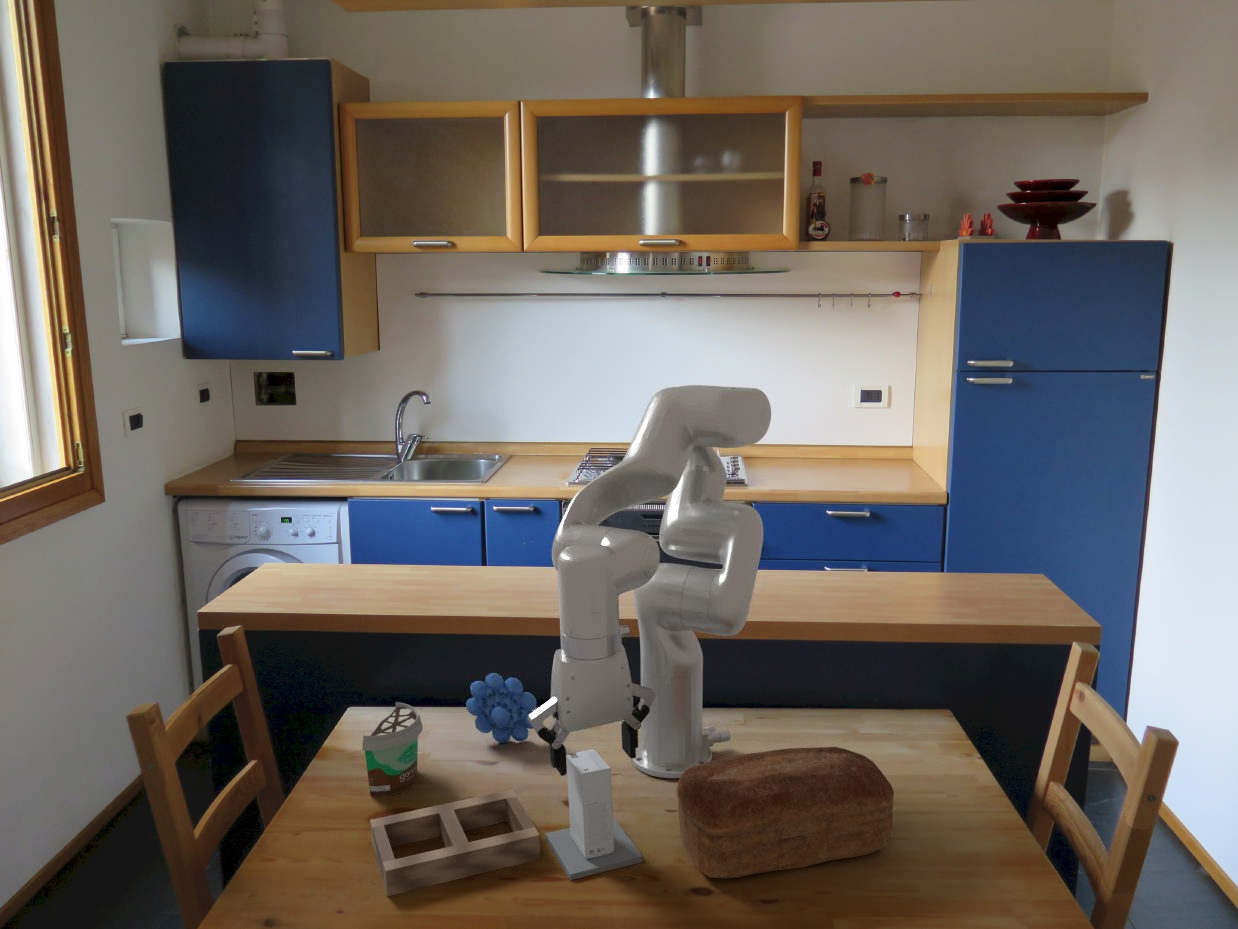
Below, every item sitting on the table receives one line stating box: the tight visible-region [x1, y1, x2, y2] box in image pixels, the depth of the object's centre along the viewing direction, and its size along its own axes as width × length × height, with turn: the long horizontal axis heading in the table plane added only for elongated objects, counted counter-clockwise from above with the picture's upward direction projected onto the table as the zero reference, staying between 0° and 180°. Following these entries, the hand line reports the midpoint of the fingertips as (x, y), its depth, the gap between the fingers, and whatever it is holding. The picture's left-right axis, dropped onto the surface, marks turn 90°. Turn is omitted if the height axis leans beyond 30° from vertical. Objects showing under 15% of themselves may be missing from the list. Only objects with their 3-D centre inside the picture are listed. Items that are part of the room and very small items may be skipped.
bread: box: [676, 746, 894, 879], centre depth 132 cm, size 14×28×12 cm, turn 105°
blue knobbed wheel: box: [465, 672, 537, 744], centre depth 160 cm, size 12×7×12 cm, turn 90°
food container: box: [362, 701, 423, 797], centre depth 150 cm, size 12×6×10 cm, turn 168°
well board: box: [369, 789, 541, 897], centre depth 132 cm, size 20×12×4 cm, turn 112°
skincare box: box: [566, 748, 614, 859], centre depth 131 cm, size 6×4×12 cm
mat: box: [544, 816, 644, 881], centre depth 133 cm, size 10×10×1 cm
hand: (595, 762), depth 131 cm, fingers open, 9 cm apart
